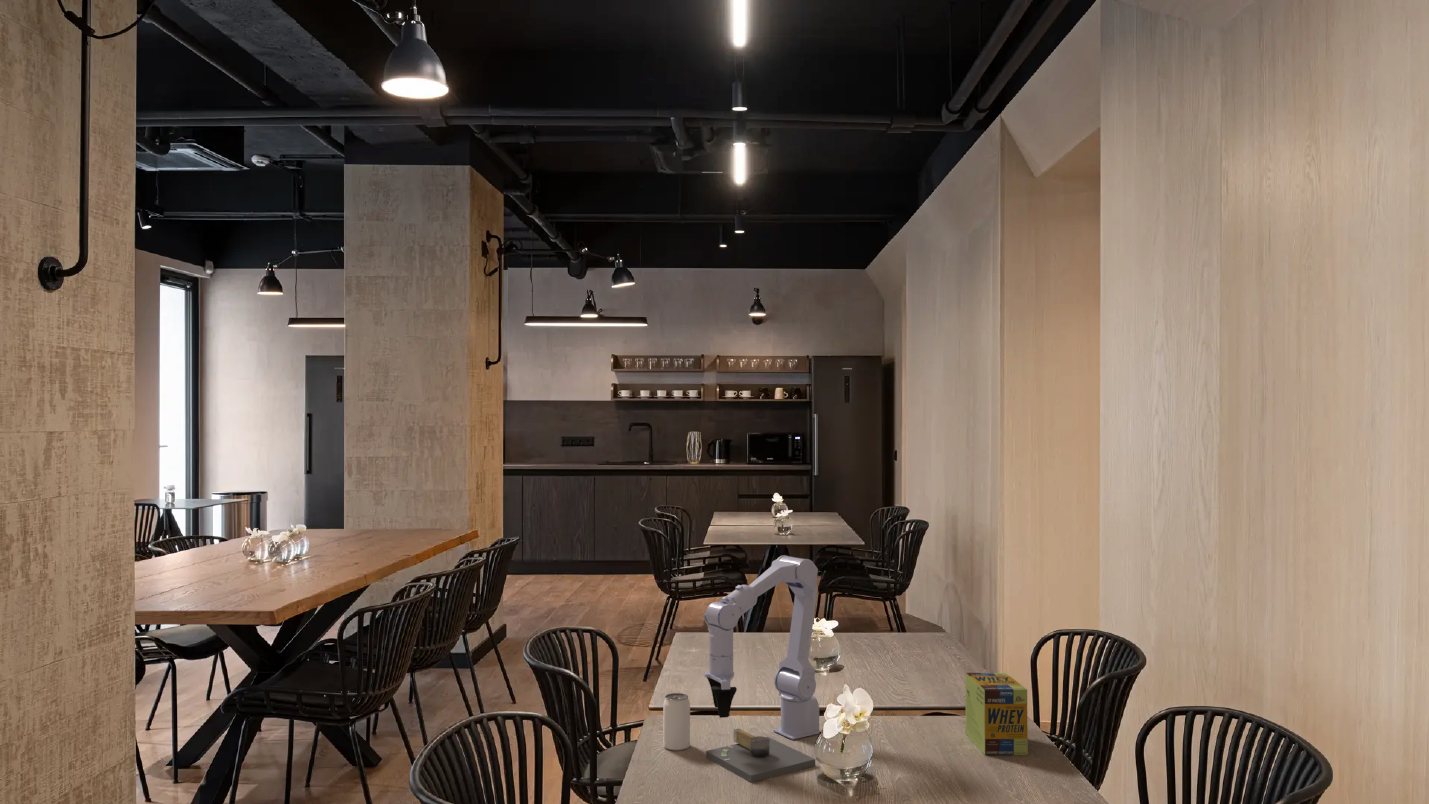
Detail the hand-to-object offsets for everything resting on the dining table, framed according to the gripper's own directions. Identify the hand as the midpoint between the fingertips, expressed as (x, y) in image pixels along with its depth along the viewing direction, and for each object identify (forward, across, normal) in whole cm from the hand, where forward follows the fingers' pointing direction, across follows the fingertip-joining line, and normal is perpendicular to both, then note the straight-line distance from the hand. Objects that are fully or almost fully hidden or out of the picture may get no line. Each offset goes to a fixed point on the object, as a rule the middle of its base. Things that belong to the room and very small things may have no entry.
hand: (721, 711), depth 214 cm
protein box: (+10, +3, +67) cm, 68 cm away
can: (+10, -6, -10) cm, 15 cm away
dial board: (+10, +6, +8) cm, 14 cm away
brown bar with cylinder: (+8, +3, +6) cm, 10 cm away
